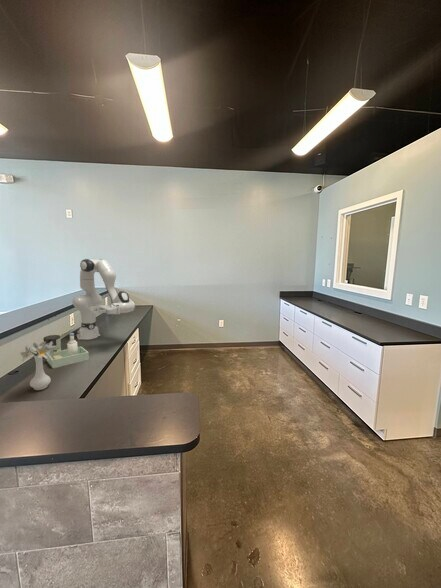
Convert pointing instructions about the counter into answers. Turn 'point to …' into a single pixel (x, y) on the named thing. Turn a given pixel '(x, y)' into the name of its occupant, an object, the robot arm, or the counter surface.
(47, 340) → the coffee can
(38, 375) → the flower vase
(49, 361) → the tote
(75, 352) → the milk bottle
